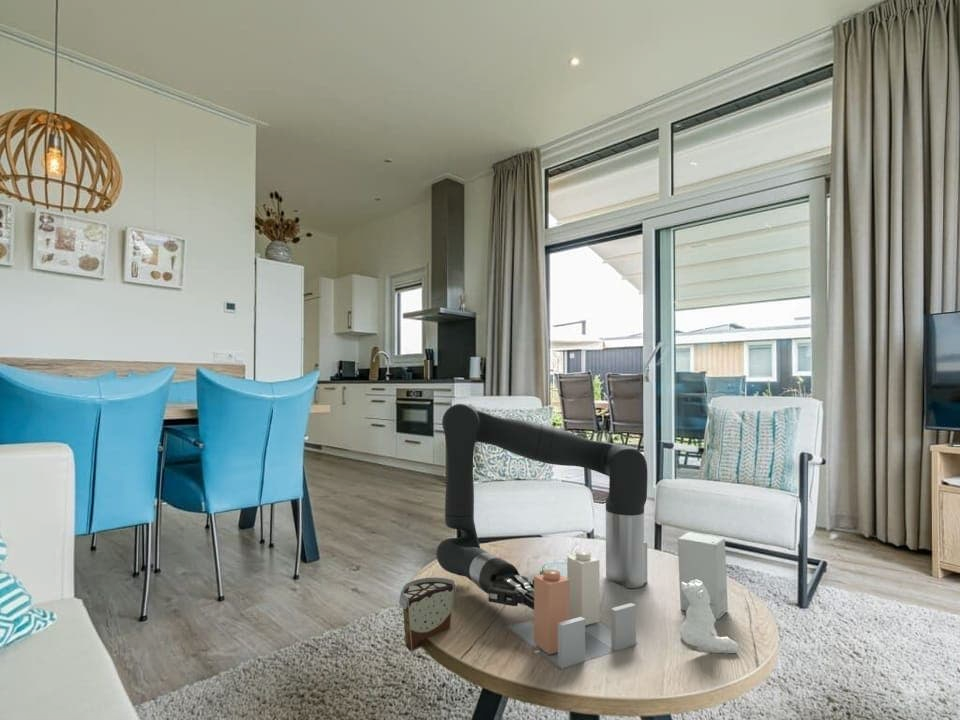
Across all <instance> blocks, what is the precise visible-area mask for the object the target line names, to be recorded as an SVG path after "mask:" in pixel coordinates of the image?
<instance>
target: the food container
mask: <svg viewBox="0 0 960 720" xmlns="http://www.w3.org/2000/svg"><path fill="white" fill-rule="evenodd" d="M455 592H457V584H456V583H455V580H454V579H450V578H445V577H424V578H417V579H414V580H411V581H410V582H408V583H405V585H404V586H403V587H402V588H401V591H400V595H399V600H398V602H399V606H400V607H401V608H402V611H403V613H402V614H403V624H404V625H403V626H404V640H405V647H406V648H407V649H408V650H409V652H411V653H412V652H414V651H416V650H419V649H422V648H424V646H423V644H422V643H421V642H422V641H424V640H426V639H428V638H432V637H433V636H435V635H437V634H440V633H442V632H445V631H447V630H449V629H452V620H453V619H452V617H453V608H454V607H453V606H454V605H453V604H454V593H455Z"/></svg>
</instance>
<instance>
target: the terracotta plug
mask: <svg viewBox="0 0 960 720" xmlns="http://www.w3.org/2000/svg"><path fill="white" fill-rule="evenodd" d="M533 579H534V610H533V613H534V614H533V620H534V644H536V645H537V646H538V647H540V648H541V649H542V650H544V651H545V652H546V653H548V654H549V655H550V654H553V653H556V652H558V623H560V622H563V621H567V620H569V579H567V577H565V576H563V575H561V572H560V571H559V570H558V569H557V570H556V569H551V568H550V569H545V570H543V573H542V574H537V575H534V577H533Z"/></svg>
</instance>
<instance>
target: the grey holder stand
mask: <svg viewBox="0 0 960 720" xmlns="http://www.w3.org/2000/svg"><path fill="white" fill-rule="evenodd" d="M636 606H637V605H636V604H634V603H632V602H630V603H626V604H621V605H619V606H615V607H611V609H610V621H611V622H610V626H609V625H608V624H605V623H604V622H603V621H599V622H595V623H592V624H588V625H585V619H584V618H582V617H578V618H574V619H569V620H567V621H563V622H560V623H558V652H556V653H553V654H550V655H549V654H548V653H546V652H545V651H544V650H542V649H541V648H540V647H538V646H537V645H536V644H534V619H532V620H528V621H527V620H526V621H525V622H524V621H523V622H520V623H517V624H516V623H515V624H512V625H508V626H506V627H505V628H506V629H507V630H509V631H510V632H511V633H512V634H514V635H515V636H517V637H518V638H519V639H520V640H522V642H524V643H525V644H527V645H528V646H529V647H530V648H532V649H533V650H534V651H533V652H534V653H535V654H540V655H541V656H542V657H543V658H545V660H547V661H548V662H549V663H551V664H552V665H554V666H555V667H556V668H557V669H558V670H559V671H560V670H561V671H562V670H564V669H566V668H569V667H573V666H576V665H578V664H582V663H585V662H588V661H592V660H593V659H597V658H600V657H603V656H605V655H609V654H613V653H615V652H618V651H622V650H624V649H627V648H630V647H634V646H637V645H639V643H638V642H637V607H636Z"/></svg>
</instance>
